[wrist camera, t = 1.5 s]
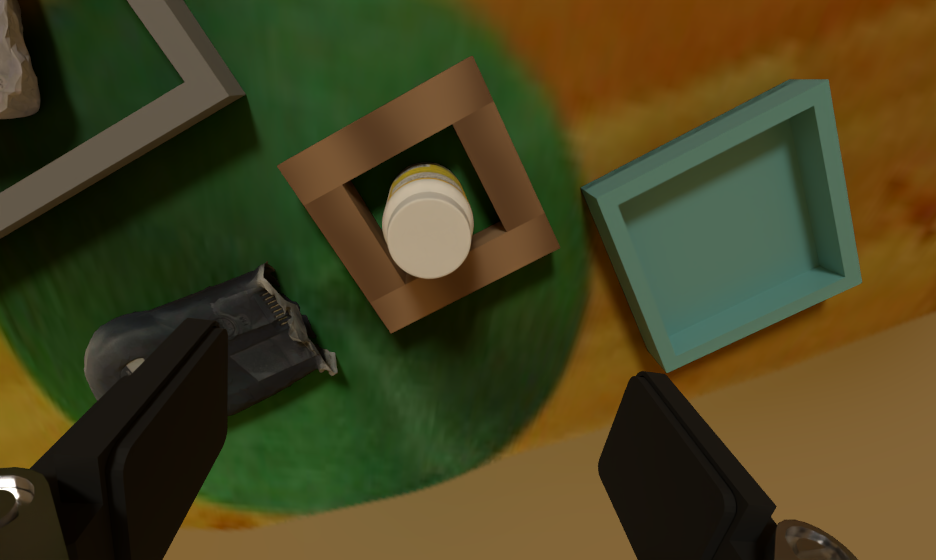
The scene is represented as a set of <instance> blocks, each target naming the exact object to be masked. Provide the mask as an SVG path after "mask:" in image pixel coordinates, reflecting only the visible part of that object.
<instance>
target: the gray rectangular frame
mask: <svg viewBox="0 0 936 560" xmlns="http://www.w3.org/2000/svg"><path fill="white" fill-rule="evenodd" d="M127 1H128V3H129V4H130V5H131V7H132V8H133V10H134V11H135V12H136V14H137V15H138V17H139V18H140V20H141V21H142V22H143V24H144V25H145V27H146V28H147V29H148V31H149V32H150V34H151V35H152V36H153V38H154V39H155V41H156V42H157V43H158V45H159V46H160V48H161V49H162V51H163V52H164V53H165V55H166V56H167V58H168V59H169V60H170V62H171V63H172V65H173V66H174V67H175V69H176V70H177V72H178V73H179V74H180V76H181V77H182V79H183V80H184V81H185V82H184V83H183V84H181V85H179V86H178V87H176V88H174V89H173V90H171V91H169V92H168V93H166V94H164V95H163V96H161V97H159V98H158V99H156V100H154V101H153V102H151V103H149V104H148V105H146V106H144V107H143V108H141V109H139V110H138V111H136V112H134V113H133V114H131V115H129V116H128V117H126V118H124V119H123V120H121V121H119V122H118V123H116V124H114V125H113V126H111V127H109V128H108V129H106V130H104V131H103V132H101V133H99V134H98V135H96V136H94V137H93V138H91V139H89V140H88V141H86V142H84V143H83V144H81V145H79V146H78V147H76V148H74V149H73V150H71V151H69V152H68V153H66V154H64V155H63V156H61V157H59V158H58V159H56V160H54V161H53V162H51V163H49V164H48V165H46V166H44V167H43V168H41V169H39V170H38V171H36V172H34V173H33V174H31V175H29V176H28V177H26V178H25V179H23V180H21V181H20V182H18V183H16V184H15V185H13V186H11V187H10V188H8V189H6V190H5V191H3V192H1V193H0V239H1V238H2V237H4V236H6V235H8V234H9V233H11V232H13V231H14V230H16V229H18V228H19V227H21V226H23V225H25V224H26V223H28V222H30V221H31V220H33V219H35V218H36V217H38V216H40V215H42V214H43V213H45V212H47V211H48V210H50V209H52V208H53V207H55V206H57V205H59V204H60V203H62V202H64V201H65V200H67V199H69V198H70V197H72V196H74V195H76V194H77V193H79V192H81V191H82V190H84V189H86V188H87V187H89V186H91V185H93V184H94V183H96V182H98V181H99V180H101V179H103V178H105V177H106V176H108V175H110V174H111V173H113V172H115V171H116V170H118V169H120V168H122V167H123V166H125V165H127V164H128V163H130V162H132V161H133V160H135V159H137V158H139V157H140V156H142V155H144V154H145V153H147V152H149V151H150V150H152V149H154V148H156V147H157V146H159V145H161V144H162V143H164V142H166V141H167V140H169V139H171V138H173V137H174V136H176V135H178V134H179V133H181V132H183V131H184V130H186V129H188V128H190V127H191V126H193V125H195V124H196V123H198V122H200V121H201V120H203V119H205V118H207V117H208V116H210V115H212V114H213V113H215V112H217V111H219V110H220V109H222V108H224V107H225V106H227V105H229V104H230V103H232V102H234V101H236V100H237V99H239V98H241V97H242V96H244V95H246V94H245V92H244V91H243V89H242V88H241V86H240V85H239V83H238V82H237V80H236V79H235V77H234V76H233V74H232V73H231V71H230V70H229V68H228V67H227V65H226V64H225V62H224V61H223V59H222V58H221V56H220V55H219V53H218V52H217V50H216V49H215V47H214V46H213V44H212V43H211V41H210V40H209V38H208V37H207V35H206V34H205V32H204V31H203V29H202V28H201V26H200V25H199V23H198V22H197V20H196V19H195V17H194V16H193V14H192V13H191V11H190V10H189V8H188V7H187V5H186V4H185V2H184V1H183V0H127Z"/></svg>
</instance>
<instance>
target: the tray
mask: <svg viewBox="0 0 936 560" xmlns="http://www.w3.org/2000/svg"><path fill="white" fill-rule="evenodd" d="M581 190H582V193H583V195H584V197H585V200H586V202H587V205H588V207H589V209H590V212H591V214H592V217H593V219H594V222H595V224H596V226H597V229H598V231H599V234H600V236H601V239H602V241H603V243H604V246H605V248H606V251H607V253H608V255H609V258H610V260H611V263H612V265H613V268H614V270H615V272H616V275H617V277H618V280H619V282H620V285H621V287H622V289H623V292H624V294H625V297H626V299H627V301H628V304H629V306H630V309H631V311H632V314H633V316H634V318H635V321H636V323H637V326H638V328H639V331H640V333H641V335H642V338H643V340H644V343H645V345H646V348H647V350H648V351H649V353H650V354H651V355H652V356H653V357H654V359H655V360H656V361H657V362H658V363H659V365H660V366H661V367H662V368H663V369H664V371H665V372H666V373H668V372H670V371H673V370H675V369H677V368H679V367H681V366H683V365H686V364H688V363H690V362H692V361H694V360H696V359H698V358H701V357H703V356H705V355H707V354H709V353H711V352H714V351H716V350H718V349H720V348H722V347H724V346H727V345H729V344H731V343H733V342H735V341H737V340H739V339H742V338H744V337H746V336H748V335H750V334H752V333H755V332H757V331H759V330H761V329H763V328H765V327H768V326H770V325H772V324H774V323H776V322H778V321H781V320H783V319H785V318H787V317H789V316H791V315H793V314H796V313H798V312H800V311H802V310H804V309H806V308H809V307H811V306H813V305H815V304H817V303H819V302H822V301H824V300H826V299H828V298H830V297H832V296H834V295H837V294H839V293H841V292H843V291H845V290H847V289H850V288H852V287H854V286H856V285H858V284H860V283H862V279H861V273H860V267H859V261H858V255H857V249H856V243H855V237H854V231H853V225H852V219H851V213H850V207H849V201H848V195H847V189H846V183H845V177H844V171H843V165H842V159H841V153H840V147H839V141H838V135H837V129H836V123H835V117H834V111H833V105H832V99H831V93H830V87H829V81H828V80H794V79H790V80H788V81H786V82H784V83H782V84H780V85H778V86H776V87H774V88H772V89H770V90H768V91H766V92H764V93H763V94H761V95H759V96H757V97H755V98H753V99H751V100H749V101H747V102H745V103H743V104H741V105H739V106H737V107H735V108H734V109H732V110H730V111H728V112H726V113H724V114H722V115H720V116H718V117H716V118H714V119H712V120H710V121H708V122H706V123H705V124H703V125H701V126H699V127H697V128H695V129H693V130H691V131H689V132H687V133H685V134H683V135H681V136H679V137H678V138H676V139H674V140H672V141H670V142H668V143H666V144H664V145H662V146H660V147H658V148H656V149H654V150H652V151H650V152H649V153H647V154H645V155H643V156H641V157H639V158H637V159H635V160H633V161H631V162H629V163H627V164H625V165H623V166H621V167H620V168H618V169H616V170H614V171H612V172H610V173H608V174H606V175H604V176H602V177H600V178H598V179H596V180H594V181H593V182H591V183H589V184H587V185H585V186H583V187H581Z"/></svg>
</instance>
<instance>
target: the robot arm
mask: <svg viewBox="0 0 936 560" xmlns="http://www.w3.org/2000/svg"><path fill="white" fill-rule="evenodd" d="M227 404H228V332H227V330H226V329H224V328H220V326H219V323H218V322H217V321H213V320H205V319H197V318H186V319H185V320H184V321H183V322H182V323H181V324H180V325H179V326H178V327H177V328H176V329H175V330H174V331H173V332H172V333H171V334H170V335H169V336H168V337H167V338H166V339H165V340H164V341H163V342H162V343H161V344H160V345H159V346H158V347H157V349H156V350H155V351H154V352H153V353H152V354H151V355H150V356H149V357H148V358H147V359H146V360H145V361H144V362H143V363H142V364H141V365H140V366H139V367H138V368H137V369H136V370H135V371H134V372H133V373H132V374H131V375H126V376H123V377H122V378H121V379H119V380H118V381H117V382H116V383H115V384H114V385H113V386H112V387H111V388H110V389H109V390H108V391H107V392H106V393H105V394H104V395H103V396H102V397H101V398H100V399H99V400H98V401H97V402H96V403H95V404H94V405H93V406H92V407H91V408H90V409H89V410H88V411H87V412H86V413H85V414H84V415H83V416H82V417H81V418H80V419H79V420H78V421H77V422H76V423H75V424H74V425H73V426H72V427H71V428H70V429H69V430H68V431H67V432H66V433H65V434H64V435H63V436H62V437H61V438H60V439H59V440H58V441H57V442H56V443H55V444H54V445H53V446H52V447H51V448H50V449H49V450H48V451H47V452H46V453H45V454H44V455H43V456H42V457H41V458H40V459H39V460H38V461H37V462H36V463H35V464H34V465H33V466H32V467H31V468H30V469H25V468H18V467H12V468H0V560H163V558H164V556H165V554H166V552H167V550H168V548H169V546H170V544H171V543H172V541H173V539H174V537H175V535H176V533H177V531H178V530H179V528H180V526H181V524H182V522H183V520H184V518H185V517H186V515H187V513H188V511H189V509H190V507H191V505H192V503H193V502H194V500H195V498H196V496H197V494H198V492H199V490H200V488H201V487H202V485H203V483H204V481H205V479H206V477H207V475H208V474H209V472H210V470H211V468H212V466H213V464H214V462H215V460H216V459H217V457H218V455H219V453H220V451H221V449H222V447H223V445H224V442H225V439H226V435H227ZM598 471H599V476H600V478H601V480H602V483H603V485H604V487H605V489H606V491H607V493H608V496H609V498H610V500H611V502H612V504H613V507H614V509H615V511H616V513H617V515H618V517H619V519H620V522H621V524H622V526H623V528H624V531H625V532H626V535H627V537H628V539H629V542H630V544H631V546H632V548H633V550H634V553H635V555H636V557H637V559H638V560H858V559H857V558H856V557H855V556H854V555H853V554H852V553H851V552H850V551H849V550H848V549H847V548H846V547H845V546H844V545H843V544H841V543H840V542H839V541H838V540H836V539H835V538H834V537H833V536H831V535H829V534H828V533H826V532H824V531H822V530H821V529H819V528H817V527H815V526H813V525H810V524H808V523H805V522H802V521H798V520H784V521H782V522H779V523H778V525H777V524H776V523H775V522H774V520H773V519H772V518H771V515H772V514H773V512H774V510H775V508H776V505H775V504H774V503H773V502H772V500H771V499H770V498H769V497H768V496H767V495H766V493H765V492H764V491H763V490H762V489H761V487H760V486H759V485H758V484H757V483H756V481H755V480H754V479H753V478H752V476H751V475H750V474H749V473H748V472H747V471H746V469H745V468H744V467H743V466H742V465H741V463H740V462H739V461H738V460H737V459H736V457H735V456H734V455H733V454H732V453H731V452H730V450H729V449H728V448H727V447H726V446H725V445H724V443H723V442H722V441H721V440H720V438H719V437H718V436H717V435H716V434H715V433H714V432H713V430H712V429H711V428H710V427H709V425H708V424H707V423H706V422H705V421H704V419H703V418H702V417H701V416H700V415H699V414H698V412H697V411H696V410H695V409H694V407H693V406H692V405H691V404H690V403H689V402H688V400H687V399H686V398H685V397H684V396H683V394H682V393H681V392H680V391H679V390H678V388H677V387H676V386H675V385H674V384H673V383H672V381H671V380H670V379H669V378H668V377H667V376H666V375H665V374H661V373H653V372H644V371H641V372H639V373H638V374H637V375H636V376H633V377H631V378H630V380H629V382H628V385H627V387H626V390H625V393H624V395H623V398H622V401H621V403H620V406H619V408H618V411H617V414H616V416H615V419H614V422H613V424H612V427H611V430H610V432H609V435H608V438H607V440H606V443H605V446H604V448H603V451H602V454H601V457H600V459H599V463H598Z"/></svg>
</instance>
